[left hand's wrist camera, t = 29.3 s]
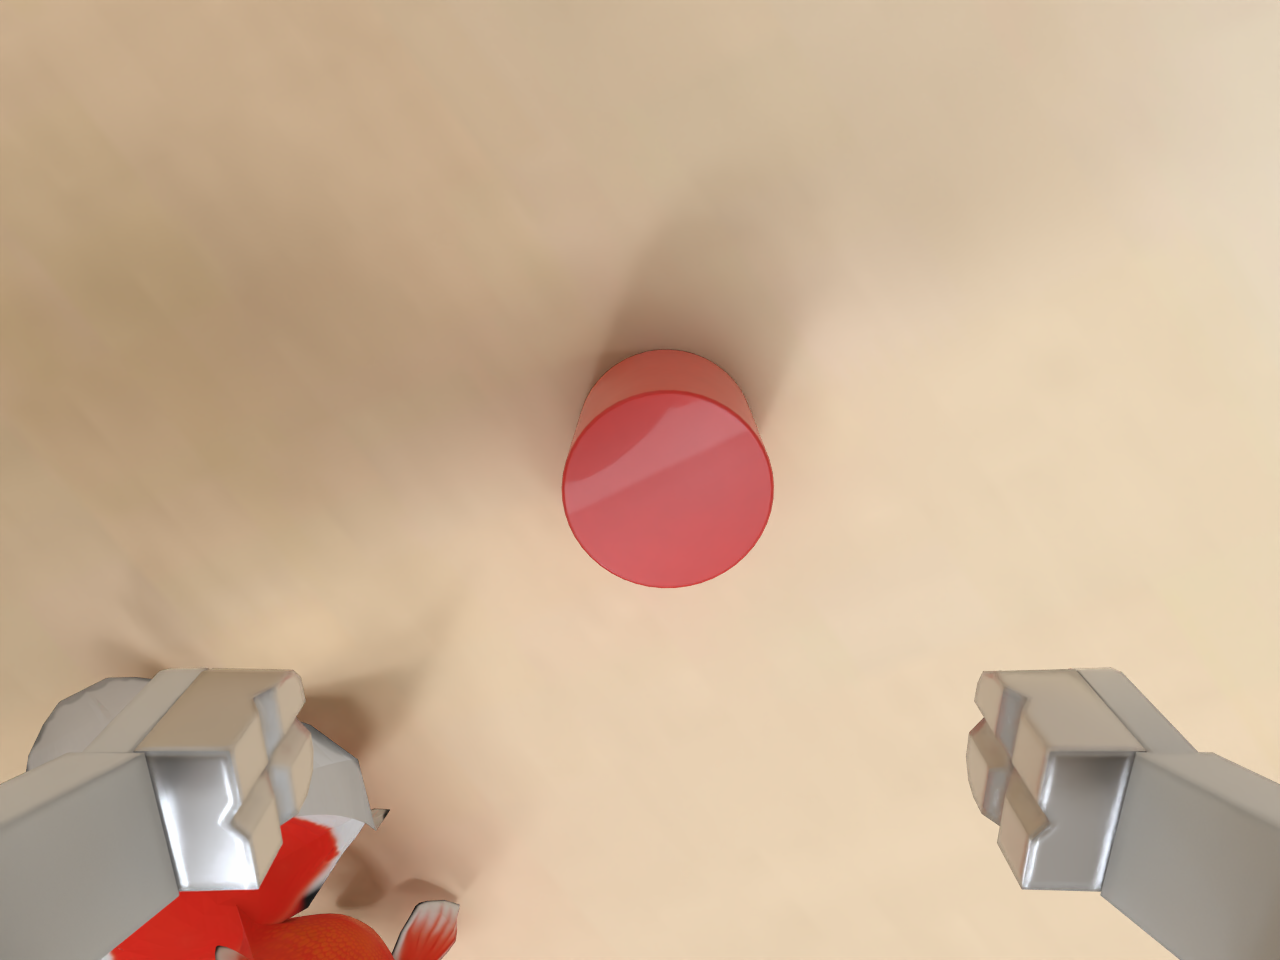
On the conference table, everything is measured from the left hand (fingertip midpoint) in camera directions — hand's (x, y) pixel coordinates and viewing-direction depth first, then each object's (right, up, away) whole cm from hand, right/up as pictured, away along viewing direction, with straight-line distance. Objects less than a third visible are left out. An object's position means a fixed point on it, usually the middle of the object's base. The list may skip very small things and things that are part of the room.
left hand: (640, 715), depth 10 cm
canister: (+1, +4, +13) cm, 14 cm away
